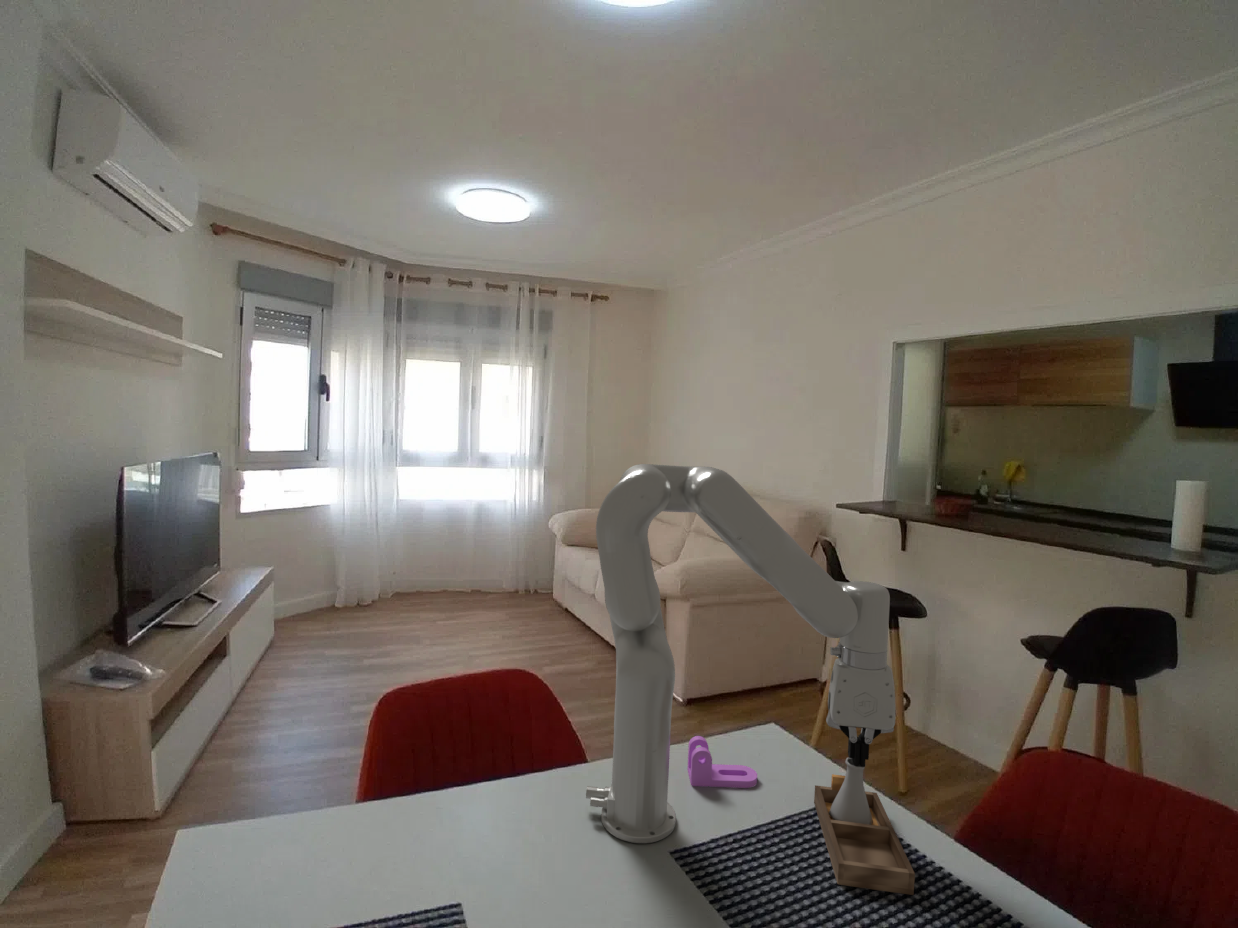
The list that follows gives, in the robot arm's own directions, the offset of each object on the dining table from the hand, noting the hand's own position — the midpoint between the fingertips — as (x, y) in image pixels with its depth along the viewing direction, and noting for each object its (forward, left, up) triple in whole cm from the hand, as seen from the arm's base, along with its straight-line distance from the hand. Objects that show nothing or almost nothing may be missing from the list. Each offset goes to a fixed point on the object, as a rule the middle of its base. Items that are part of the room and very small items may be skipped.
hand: (857, 761), depth 103 cm
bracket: (-22, +9, -11) cm, 26 cm away
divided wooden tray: (0, -5, -11) cm, 12 cm away
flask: (-1, 0, -10) cm, 10 cm away
